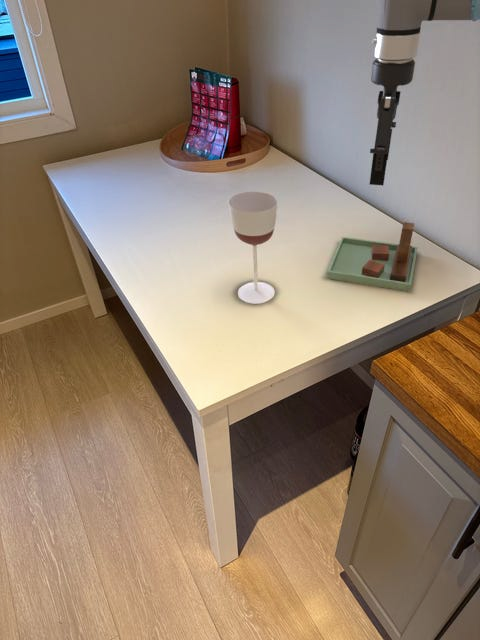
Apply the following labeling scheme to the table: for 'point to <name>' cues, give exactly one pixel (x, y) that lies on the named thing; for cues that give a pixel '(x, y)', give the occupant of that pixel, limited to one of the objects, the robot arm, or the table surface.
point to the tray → (357, 254)
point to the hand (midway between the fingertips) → (379, 171)
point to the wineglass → (254, 235)
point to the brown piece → (402, 254)
